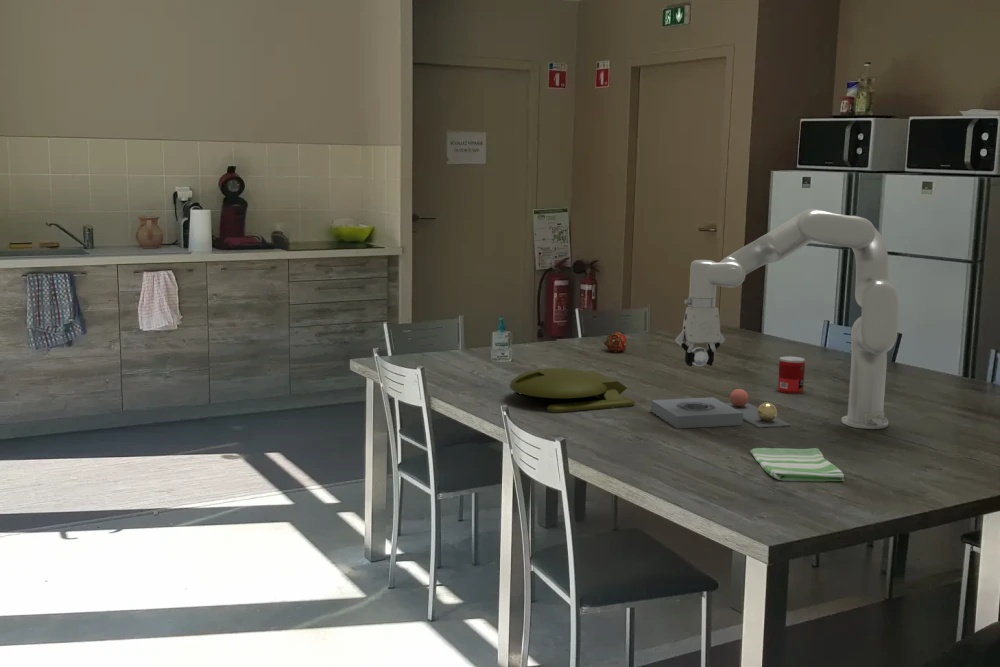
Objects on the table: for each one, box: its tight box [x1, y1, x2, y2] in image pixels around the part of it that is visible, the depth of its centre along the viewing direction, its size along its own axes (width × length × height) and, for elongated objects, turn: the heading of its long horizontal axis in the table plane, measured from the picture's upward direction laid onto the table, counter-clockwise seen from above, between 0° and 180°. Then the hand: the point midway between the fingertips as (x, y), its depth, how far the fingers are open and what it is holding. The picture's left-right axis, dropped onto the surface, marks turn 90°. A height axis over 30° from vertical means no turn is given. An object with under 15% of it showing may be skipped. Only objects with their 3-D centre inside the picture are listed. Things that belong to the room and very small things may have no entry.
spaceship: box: [509, 367, 635, 413], centre depth 319 cm, size 35×31×10 cm
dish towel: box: [749, 447, 845, 482], centre depth 250 cm, size 18×23×3 cm
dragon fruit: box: [603, 331, 628, 353], centre depth 401 cm, size 8×8×12 cm
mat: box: [724, 402, 792, 429], centre depth 301 cm, size 28×10×1 cm, turn 13°
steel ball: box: [692, 346, 709, 367], centre depth 294 cm, size 6×6×6 cm
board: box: [650, 396, 743, 429], centre depth 297 cm, size 20×20×4 cm
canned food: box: [777, 356, 806, 395], centre depth 332 cm, size 8×8×11 cm
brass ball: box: [757, 402, 778, 422], centre depth 292 cm, size 6×6×6 cm
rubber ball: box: [729, 388, 749, 407], centre depth 309 cm, size 6×6×6 cm
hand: (699, 364), depth 295 cm, fingers closed on steel ball, 5 cm apart
